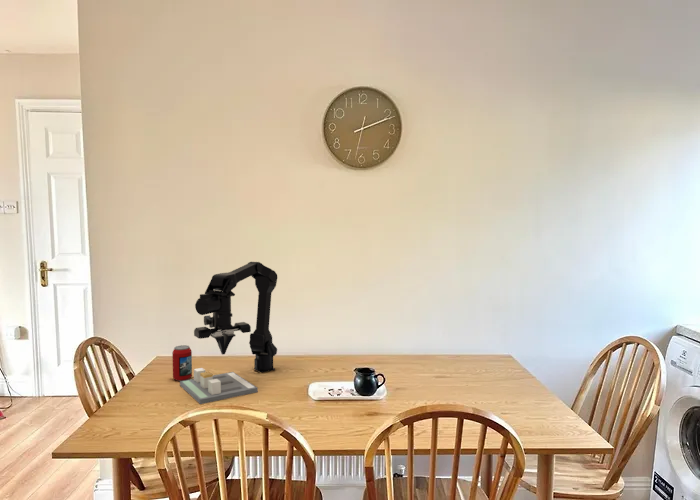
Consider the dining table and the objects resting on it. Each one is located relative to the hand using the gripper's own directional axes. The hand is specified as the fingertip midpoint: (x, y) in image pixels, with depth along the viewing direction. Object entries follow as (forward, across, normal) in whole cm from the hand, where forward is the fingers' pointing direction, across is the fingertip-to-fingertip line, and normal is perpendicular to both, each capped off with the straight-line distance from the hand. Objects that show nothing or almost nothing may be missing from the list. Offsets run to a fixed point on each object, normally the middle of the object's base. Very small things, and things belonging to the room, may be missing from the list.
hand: (223, 354), depth 175 cm
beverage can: (+12, +9, -18) cm, 24 cm away
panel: (+12, +2, 0) cm, 12 cm away
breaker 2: (+10, +6, +8) cm, 14 cm away
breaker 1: (+10, +6, -8) cm, 14 cm away
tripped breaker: (+10, +6, 0) cm, 12 cm away
